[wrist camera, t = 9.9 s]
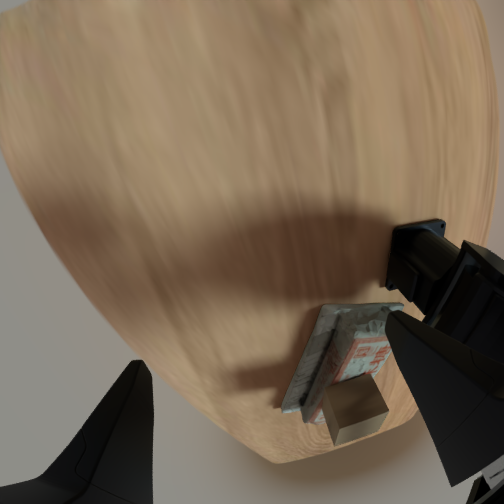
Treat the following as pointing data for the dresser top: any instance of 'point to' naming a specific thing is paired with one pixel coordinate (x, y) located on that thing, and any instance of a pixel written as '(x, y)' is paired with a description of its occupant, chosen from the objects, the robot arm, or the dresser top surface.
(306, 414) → the packaged product
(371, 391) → the walnut block
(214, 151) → the dresser top surface
